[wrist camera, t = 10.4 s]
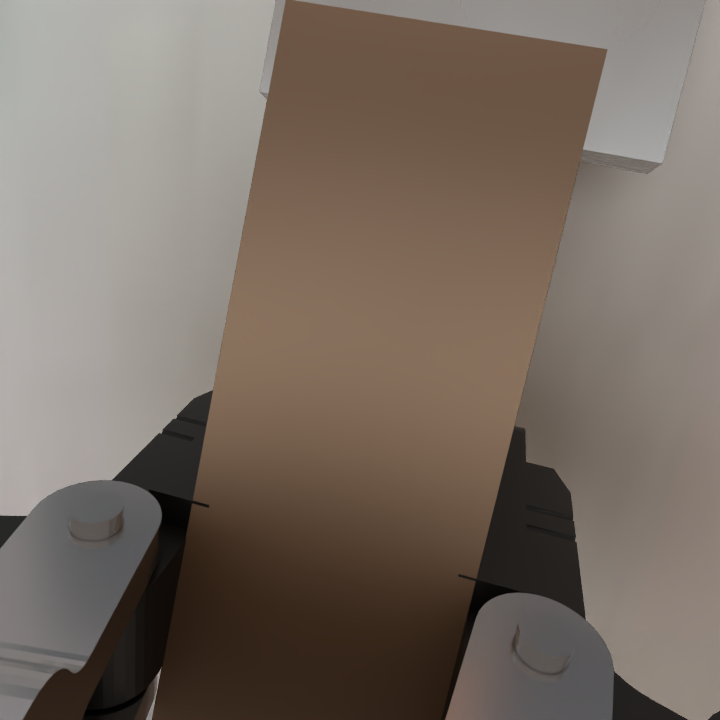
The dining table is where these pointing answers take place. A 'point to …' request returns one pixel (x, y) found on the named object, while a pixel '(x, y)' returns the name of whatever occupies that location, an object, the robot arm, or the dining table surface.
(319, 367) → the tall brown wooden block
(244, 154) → the dining table surface
